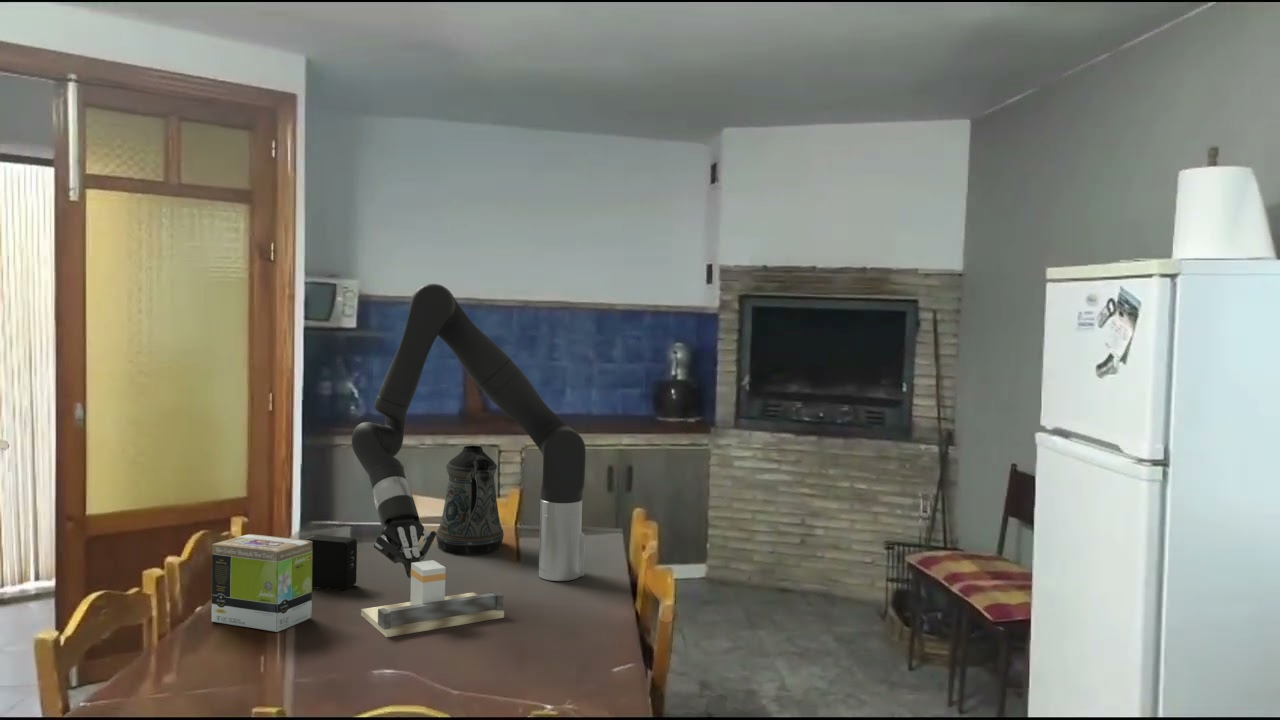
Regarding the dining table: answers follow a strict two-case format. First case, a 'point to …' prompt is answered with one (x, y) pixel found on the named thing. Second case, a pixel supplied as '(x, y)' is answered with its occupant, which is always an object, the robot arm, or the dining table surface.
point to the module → (427, 582)
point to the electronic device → (333, 561)
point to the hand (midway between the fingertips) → (416, 577)
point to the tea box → (262, 582)
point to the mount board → (428, 624)
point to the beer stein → (470, 506)
